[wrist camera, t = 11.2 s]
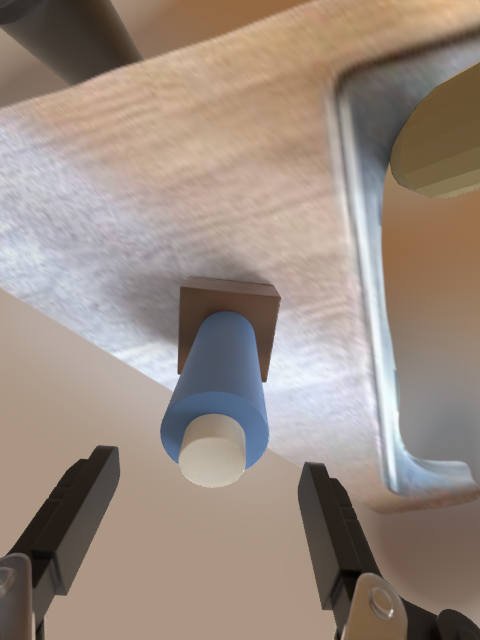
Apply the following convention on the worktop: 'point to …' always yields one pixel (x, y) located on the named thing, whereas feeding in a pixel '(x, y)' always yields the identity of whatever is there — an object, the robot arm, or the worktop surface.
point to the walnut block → (230, 296)
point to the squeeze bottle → (442, 140)
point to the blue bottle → (218, 404)
